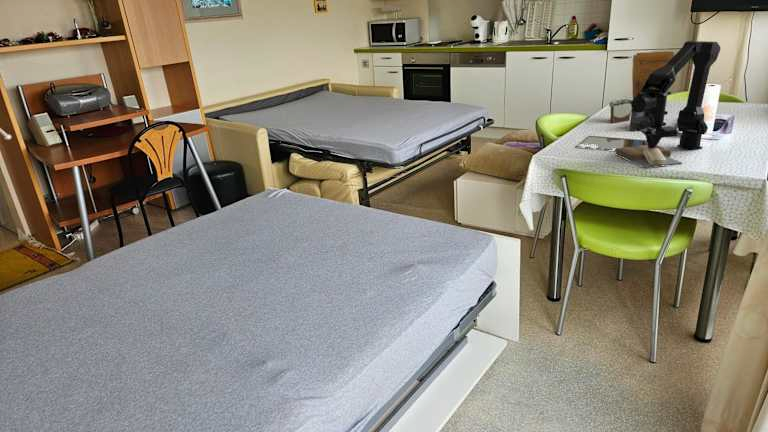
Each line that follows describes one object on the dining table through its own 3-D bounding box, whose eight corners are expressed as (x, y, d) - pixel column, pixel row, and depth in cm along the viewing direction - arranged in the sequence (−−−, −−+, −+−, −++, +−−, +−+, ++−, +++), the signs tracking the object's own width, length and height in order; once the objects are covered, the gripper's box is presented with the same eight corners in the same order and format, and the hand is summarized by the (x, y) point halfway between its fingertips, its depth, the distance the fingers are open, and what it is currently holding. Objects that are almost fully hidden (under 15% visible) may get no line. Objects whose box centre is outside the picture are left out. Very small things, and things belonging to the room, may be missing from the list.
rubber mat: (665, 157, 193) (665, 155, 193) (681, 164, 185) (681, 162, 184) (630, 161, 191) (630, 160, 191) (645, 168, 183) (645, 166, 183)
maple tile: (657, 153, 191) (658, 148, 190) (665, 164, 183) (666, 159, 182) (642, 152, 191) (644, 148, 190) (650, 164, 184) (651, 159, 183)
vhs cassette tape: (650, 123, 241) (653, 102, 237) (657, 124, 239) (659, 102, 235) (627, 130, 232) (630, 108, 228) (634, 131, 230) (636, 109, 226)
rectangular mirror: (575, 148, 213) (649, 155, 198) (575, 146, 213) (649, 153, 197) (588, 137, 227) (658, 143, 212) (588, 135, 227) (659, 141, 211)
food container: (622, 118, 254) (624, 98, 250) (631, 120, 249) (634, 99, 245) (601, 121, 251) (603, 101, 247) (610, 124, 245) (612, 103, 242)
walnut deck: (653, 150, 202) (654, 144, 201) (670, 156, 193) (671, 150, 192) (615, 154, 200) (616, 148, 199) (630, 161, 191) (631, 155, 190)
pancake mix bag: (666, 107, 269) (674, 51, 258) (627, 106, 279) (633, 52, 268) (668, 105, 274) (676, 50, 263) (629, 103, 284) (635, 51, 273)
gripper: (620, 106, 193) (616, 146, 199) (651, 115, 176) (646, 159, 182) (648, 103, 194) (643, 143, 200) (681, 112, 177) (675, 156, 183)
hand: (650, 150), depth 191 cm, fingers closed
